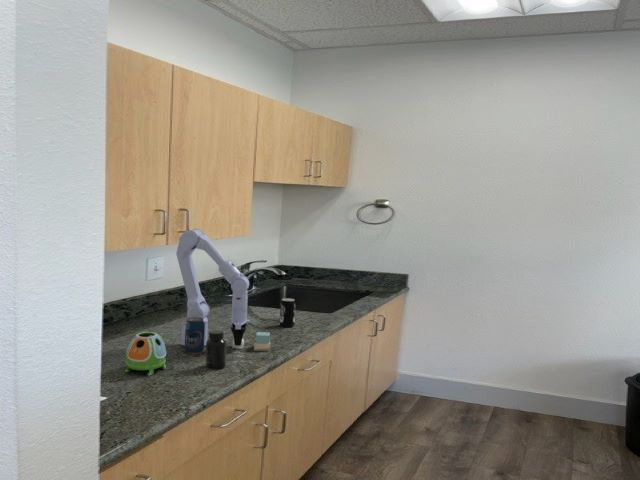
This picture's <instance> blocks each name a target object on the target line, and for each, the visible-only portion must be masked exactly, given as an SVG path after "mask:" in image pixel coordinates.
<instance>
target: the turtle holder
mask: <svg viewBox="0 0 640 480" xmlns="http://www.w3.org/2000/svg"><path fill="white" fill-rule="evenodd" d="M166 348H167V347H166V345H165V342H164V339H163V336H162V335H160V334H159V333H157V332H153V331H142V332H139V333H136V334H135V337H134V338H132V339H131V341H130V343H129V345H128V346H127V349H126V352H125V365H126V367H127V368H126V369H125V373H130V372H132V370H134V371H148V372H147V375H146V376H148V377H151V376H153V375H154V374H155V373H154V372H155V370H156V369H159V368H161V370H162V369H164V370H166V369H167V366H166V362H167V360H166V355H167V349H166ZM150 375H151V376H150Z"/></svg>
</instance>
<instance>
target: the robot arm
mask: <svg viewBox="0 0 640 480" xmlns="http://www.w3.org/2000/svg"><path fill="white" fill-rule="evenodd" d="M196 249H198V250H201V251H204V252H205V253H207V255H208V256H209V257H210V258H211V260H212V261H213V262H215V263H216V265H217V266H218V271H219V273H220V275H221V276H223V277H224V278H225V280H226V281H227V282H228V283H229V284H230V289H231V291H232V298H231V299H232V300H231V301H232V302H231V319H230V323H231V326H230V330H231V332H232V336H233V339H234V342H235V346H241V343H242V339H244V338H243V337H244V334H245V332H246V330H247V324H248V323H250V321H251V320H250V319H248V301H249V298H248V297H249V296H248V289H249V287H250V281H249V278H248V277H247V276H246V275H244V274H243V273H244V272H241V271H240V270H239V269H238V268H237V267H236V263H235V262H232V261H231V260H227V259H226V258H224V256H223V255H222V254H221V253H220V251H219V249H218V248H217V247H216V246H215V245H214V243H213V242H212V241H211V240H210V238H209V236H208V235H206V234H205V233H204V231H203V230H202V229H200V228H192V229H187V230H185V231H184V232H183V233H181V235H180V236H179V238H178V245H177V248H176V253H175V254H176V259H177V262H178V266H179V269H180V274H181V277H182V280H183V286H184V288H185V291H186V296H187V303H186V308H187V313H186V316H187V319H189V318H202V319H203V321H204V323H205V335H204V347H206V342H207V340H208V328H209V326H208V324H209V323H208V322H209V320H208V319H209V318H208V316H209V315H210V311H211V310H210V309H211V308H210V306H209V304H208V303H207V302H206V299H205V297H204V296H203V295H202V291H201V289H200V285H199V279H198V277H197V272H196V269H195V265H194V262H193V257H192V255H193V253H194V252H195V250H196ZM185 324H186V323H184V324H183V325H182V326H181V330H180V331H181V333H180V334H181V336H180V337H181V338H180V343H179V345H181V346H184V347H185Z"/></svg>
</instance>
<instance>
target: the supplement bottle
mask: <svg viewBox="0 0 640 480" xmlns="http://www.w3.org/2000/svg"><path fill="white" fill-rule="evenodd" d="M224 334H225V333H224V331H222V330H216V329H215V330H210V331H209V333H208V338H207V342H206V346H205V367H206V368H207V369H209V370H221V369H224V368H226V366H227V341H226V339H224V337H225V336H224Z"/></svg>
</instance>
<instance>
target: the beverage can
mask: <svg viewBox="0 0 640 480" xmlns="http://www.w3.org/2000/svg"><path fill="white" fill-rule="evenodd" d="M279 307H280V311H279V326H280V327H282V328H292V327H294V326H295V320H296V317H295V316H296V301H295V299H294V298H289V297H288V298H287V297H284V298H282V299H281V301H280V306H279Z"/></svg>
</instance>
